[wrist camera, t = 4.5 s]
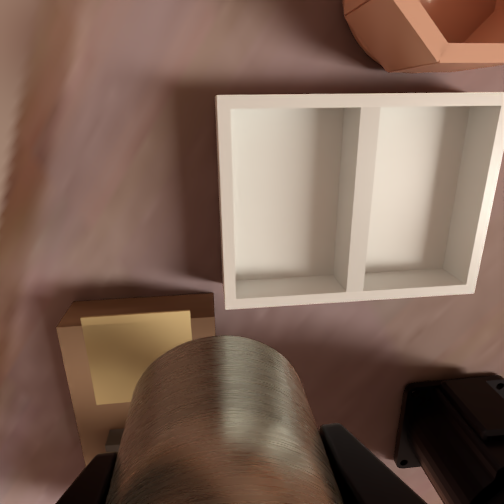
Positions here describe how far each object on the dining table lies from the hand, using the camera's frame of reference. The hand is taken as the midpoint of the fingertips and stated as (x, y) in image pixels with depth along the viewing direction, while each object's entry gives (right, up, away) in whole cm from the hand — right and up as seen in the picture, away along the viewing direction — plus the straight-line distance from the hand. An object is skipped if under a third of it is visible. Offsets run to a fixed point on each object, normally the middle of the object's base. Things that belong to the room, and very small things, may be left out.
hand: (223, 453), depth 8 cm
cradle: (-5, -5, +15) cm, 16 cm away
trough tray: (+5, +7, +11) cm, 14 cm away
